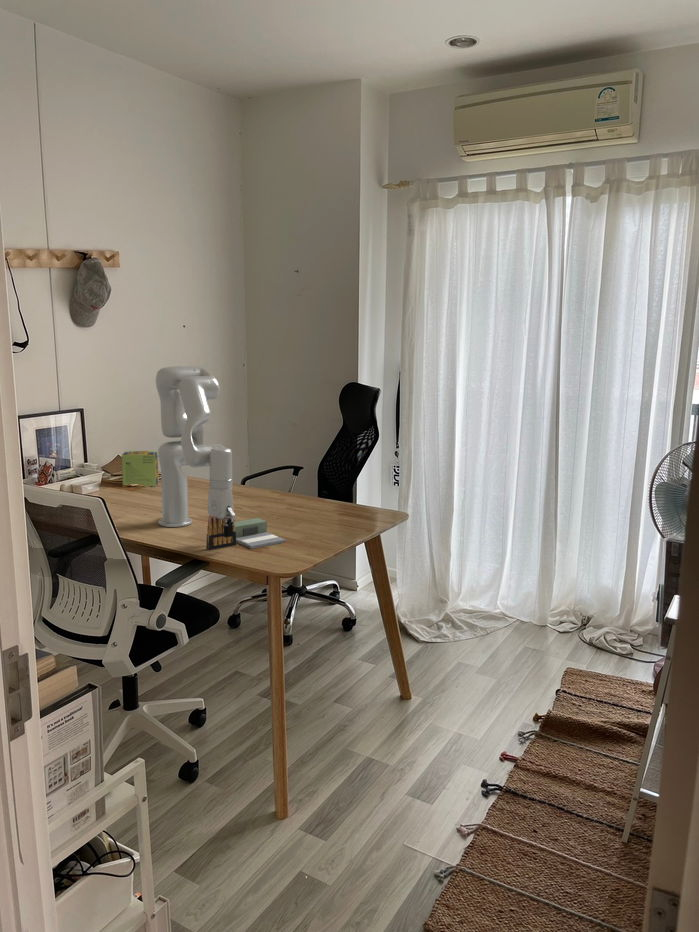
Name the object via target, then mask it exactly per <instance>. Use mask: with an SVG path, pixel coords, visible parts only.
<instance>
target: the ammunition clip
mask: <svg viewBox="0 0 699 932" xmlns="http://www.w3.org/2000/svg"><path fill="white" fill-rule="evenodd" d="M226 520H227V521H228V520H229V519H226ZM235 522H236V521H234V525H233V536H231V537H226V538H225V537H224V526H225V524H224V521H223V519H217V524H216V517H214V516H213V525H212V520H211V516H210V515H209V514H208V518H207V528H206V529H207V534H206V547H205V548H206V550H208V551H211V550H212V551H213V550H217V549H218V550H219V549H223V548H228V547H229V548H230V547H233V546H234V547H235V546H237V542H236V531H235Z"/></svg>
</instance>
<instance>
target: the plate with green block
mask: <svg viewBox="0 0 699 932" xmlns="http://www.w3.org/2000/svg"><path fill="white" fill-rule="evenodd" d="M267 523H268V521H267V520H264V519H263V518H260V517H255V518H250V519H244V520H237V521H235V531H236V544H239V545H242V546H243V547H246V548H248V549H250V550H253V549H259V548H264V547H269V546H274V545H279V544H284V543H286V539H285V538H282V537H280V536H278V535H275V534H273V533H270V532H268V531H267V530H268V528H267V527H268V524H267Z"/></svg>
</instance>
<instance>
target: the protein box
mask: <svg viewBox="0 0 699 932" xmlns="http://www.w3.org/2000/svg"><path fill="white" fill-rule="evenodd" d="M121 469H122V471H121V472H122V477H121V478H122V486H123V485H128V484H139V485H144V486H156V485H157V486H158V484H159V483H158V482H160V481H159V457H158V450H130V451H129V450H126V451H124V452H123V453H122V454H121ZM157 486H156V487H157Z"/></svg>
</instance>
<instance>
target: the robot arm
mask: <svg viewBox="0 0 699 932" xmlns="http://www.w3.org/2000/svg"><path fill="white" fill-rule="evenodd" d="M155 386H156V387H155V388H156V390H157V393H158V397H159V400H160V403H159V404H160V422H161V423H160V425H161V432H162V434H163V436H164V437H166V438H170V439H171V438H176V439H177V438H180V440H172V441H167V442H163V443H162V444H160V446H159V447H158V450H157V451H158V463H159V467H160V474H161V475H160V477H161V478H160V479H161V508H162V509H161V512H160V513H161V514H162V515H161V517H162V518H159V520H157V521H158V525H159V526H162V527H167V528H179V527H186V526H189V525H191V524H192V523H193V519H192V518H191V517H189V503H188V501H189V500H188V476H187V474H186V473H185V472H184V470H183V469H182V467H184V466H189V467H190V468H204V467H205V468H206V467H209V489H208V495H207V496H208V498H207V514H208V516H209V515H210V516H211V520H212V525H213V516H214V517H216V524H217V519H221V520H222V519H223V521H224V524H225V526H224V537H225V538H226V537H231V536H233V525H234V521H235V519H236V517H237V516H236V514H235V512H234V499H233V498H234V497H233V490H232V489H233V451H232V449H231V448H228V447H225V446H224V445H223V444H220V443H210V444H206V439H205V434H206V433H205V424H206V423H207V422H209V421H210V420H211V418H212V412H211V408H210V405H209V401H208V400H216V399H217V398H218V397H219V396H220V393H221V388H220V384H219V382H218V380H217V378H216V377H215V375H213V374H212V373H210V372H209V371H208V370H206V369H205V368H204V367H202V366H196V365H195V366H193V365H192V366H190V365H189V366H188V365H187V366H184V365H183V366H181V365H179V366H166V367H162V368H160V369H159V370H158V371H157V372H156V376H155ZM227 519H229V520H228V521H227ZM235 522H236V521H235Z"/></svg>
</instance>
